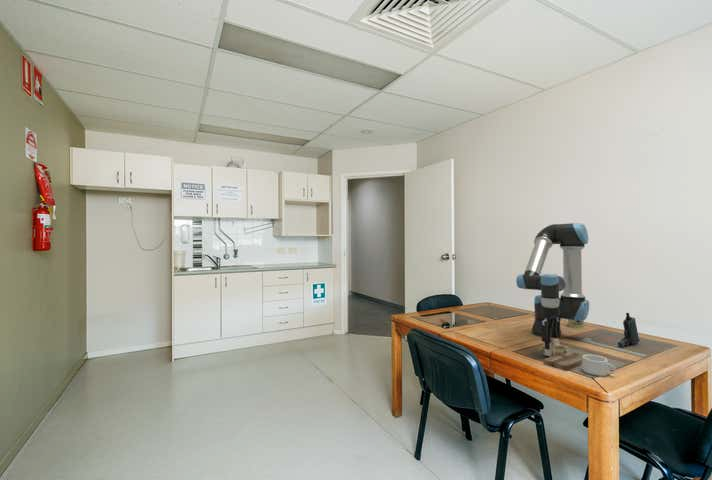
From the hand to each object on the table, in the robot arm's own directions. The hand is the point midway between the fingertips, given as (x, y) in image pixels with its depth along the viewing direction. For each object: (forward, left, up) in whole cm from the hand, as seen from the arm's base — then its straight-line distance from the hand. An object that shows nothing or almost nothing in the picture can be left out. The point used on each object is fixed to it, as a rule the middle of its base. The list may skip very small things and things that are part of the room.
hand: (551, 354), depth 159 cm
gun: (+14, +47, -1) cm, 49 cm away
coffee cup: (-19, +64, -1) cm, 67 cm away
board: (+8, -2, -1) cm, 8 cm away
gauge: (+2, 0, 0) cm, 3 cm away
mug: (+21, -4, -1) cm, 21 cm away
